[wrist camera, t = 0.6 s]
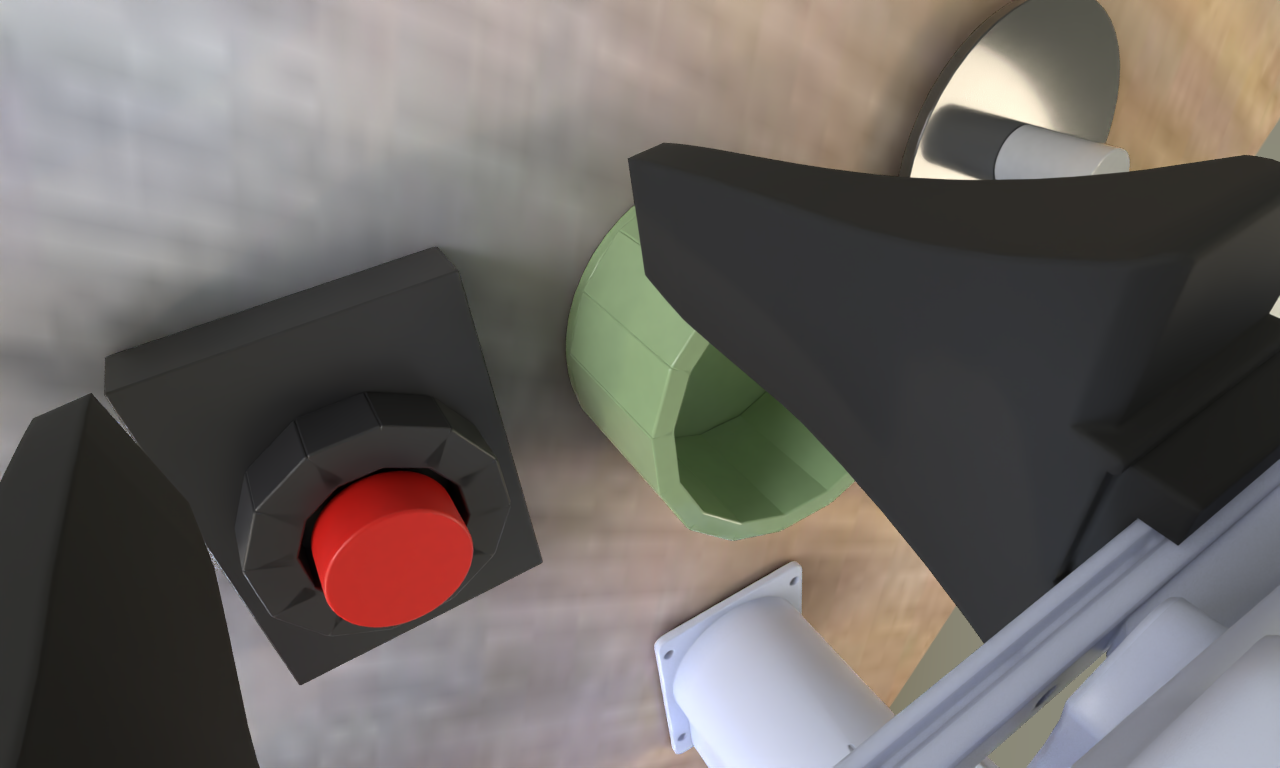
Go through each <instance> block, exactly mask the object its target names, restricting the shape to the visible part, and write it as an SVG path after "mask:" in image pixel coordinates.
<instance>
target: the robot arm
mask: <svg viewBox="0 0 1280 768" xmlns="http://www.w3.org/2000/svg"><path fill="white" fill-rule="evenodd" d="M628 163H629V170H630V176H631V183H632V190H633V197H634V204H635V211H636V217H637V224H638V231H639V238H640V245H641V251H642V258H643V265H644V272H645V276H646V277H647V278H648V279H649V281H650V282H651V283H652V284H653V285H654V287H655V288H656V289H657V290H658V291H659V293H660V294H661V295H662V296H663V297H664V299H665V300H666V301H667V302H668V303H669V304H670V305H671V306H672V308H673V309H674V310H675V311H676V312H677V313H678V314H679V315H680V317H681V318H682V319H683V320H684V321H685V322H686V323H688V324H689V325H690V326H691V327H692V328H693V329H694V330H695V331H697V332H698V333H699V334H700V335H701V336H702V337H703V338H705V339H706V340H707V341H708V342H709V343H710V344H712V345H713V346H714V347H715V348H716V349H717V350H718V351H720V352H721V353H722V354H723V355H724V356H725V357H727V358H728V359H729V360H730V361H731V362H733V363H734V364H735V365H736V366H737V367H738V368H740V369H741V370H742V371H743V372H744V373H746V374H747V375H748V376H749V377H750V378H751V379H753V380H754V381H755V382H756V383H757V384H758V385H760V386H761V387H762V388H763V389H764V390H766V391H767V392H768V393H769V394H770V395H771V396H773V397H774V398H775V399H776V400H777V401H778V402H780V403H781V404H782V405H783V406H784V407H785V408H786V409H787V410H788V411H790V412H791V413H792V414H793V415H794V416H795V417H796V418H797V419H798V420H799V421H800V422H801V423H802V424H803V425H804V426H805V427H806V428H807V429H808V430H809V431H810V432H811V433H812V434H813V435H814V436H815V437H816V439H817V440H818V441H819V442H820V443H821V444H822V445H823V446H824V447H825V448H826V449H827V450H828V451H829V452H830V454H831V455H832V456H833V457H834V458H835V459H836V460H837V461H838V462H839V463H840V464H841V465H842V466H843V468H844V469H845V470H846V471H847V472H848V473H849V474H850V476H851V477H852V478H853V479H854V480H855V481H856V482H857V484H858V485H859V486H860V487H861V488H862V489H863V490H864V491H865V493H866V494H867V495H868V496H869V497H870V498H871V499H872V501H873V502H874V503H875V504H876V505H877V506H878V507H879V509H880V510H881V511H882V512H883V513H884V515H885V516H886V517H887V518H888V519H889V521H890V522H891V523H892V524H893V526H894V527H895V528H896V529H897V530H898V532H899V533H900V534H901V535H902V537H903V538H904V539H905V540H906V541H907V543H908V544H909V545H910V546H911V548H912V549H913V550H914V551H915V553H916V554H917V555H918V556H919V557H920V559H921V560H922V561H923V562H924V564H925V565H926V566H927V567H928V569H929V570H930V571H931V573H932V574H933V575H934V577H935V578H936V579H937V581H938V582H939V583H940V585H941V586H942V587H943V589H944V590H945V591H946V593H947V594H948V595H949V597H950V598H951V599H952V600H953V602H954V603H955V604H956V606H957V607H958V608H959V610H960V611H961V612H962V614H963V615H964V616H965V618H966V619H967V620H968V622H969V623H970V625H971V626H972V627H973V629H974V630H975V631H976V633H977V634H978V636H979V637H980V639H981V640H982V641H983V643H984V644H983V645H982V646H981V647H980V648H978V649H977V650H976V651H975V652H973V653H972V654H971V655H970V656H968V657H967V658H966V659H965V660H964V661H962V662H961V663H960V664H959V665H957V666H956V667H955V668H954V669H953V670H951V671H950V672H949V673H948V674H946V675H945V676H944V677H943V678H941V679H940V680H939V681H938V682H937V683H935V684H934V685H933V686H932V687H930V688H929V689H928V690H927V691H926V692H924V693H923V694H922V695H921V696H919V697H918V698H917V699H916V700H914V701H913V702H912V703H911V704H910V705H908V706H907V707H906V708H905V709H903V710H902V711H901V712H900V713H899V714H897V715H895V714H894V713H893V712H892V711H891V710H890V709H889V708H888V707H887V706H886V705H885V703H884V702H883V701H882V700H881V699H880V698H879V697H878V696H877V695H876V694H875V693H874V692H873V691H872V690H871V689H870V687H869V686H868V685H867V684H866V683H865V682H864V681H863V680H862V679H861V678H860V677H859V676H858V675H857V674H856V673H855V671H854V670H853V669H852V668H851V667H850V666H849V665H848V664H847V663H846V662H845V661H844V660H843V659H842V658H841V657H840V655H839V654H838V653H837V652H836V651H835V650H834V649H833V648H832V647H831V646H830V645H829V644H828V643H827V642H826V641H825V639H824V638H823V637H822V636H821V635H820V634H819V633H818V632H817V631H816V630H815V629H814V628H813V627H812V626H811V624H810V623H809V622H808V621H807V620H806V619H805V618H804V617H803V616H802V615H801V613H802V566H801V565H800V564H799V563H798V562H796V561H792V562H789V563H787V564H786V565H784V566H782V567H780V568H779V569H777V570H775V571H774V572H772V573H770V574H768V575H767V576H765V577H763V578H761V579H760V580H758V581H756V582H754V583H753V584H751V585H749V586H747V587H746V588H744V589H742V590H741V591H739V592H737V593H735V594H734V595H732V596H730V597H728V598H727V599H725V600H723V601H721V602H720V603H718V604H716V605H714V606H713V607H711V608H709V609H708V610H706V611H704V612H702V613H701V614H699V615H697V616H695V617H694V618H692V619H690V620H688V621H687V622H685V623H683V624H681V625H680V626H678V627H676V628H675V629H673V630H671V631H669V632H668V633H666V634H664V635H662V636H661V637H660V638H659V639H658V640H657V641H656V643H655V647H654V648H655V654H656V660H657V665H658V671H659V677H660V682H661V688H662V694H663V699H664V705H665V711H666V716H667V722H668V728H669V733H670V739H671V745H672V748H673V750H674V751H675V753H676V754H682V753H684V752H685V751H687V750H689V749H690V748H692V747H693V746H694V747H695V748H696V750H697V751H698V753H699V754H700V756H701V757H702V758H703V760H704V761H705V763H706V764H707V766H708V767H709V768H999V767H998V766H997V765H996V764H995V763H994V762H993V761H992V760H991V759H989V758H988V757H987V756H988V755H989V754H990V753H991V752H993V751H994V750H995V749H996V748H997V747H998V746H999V745H1001V744H1002V743H1003V742H1004V741H1005V740H1006V739H1007V738H1008V737H1009V736H1011V735H1012V734H1013V733H1014V732H1015V731H1016V730H1017V729H1019V728H1020V727H1021V726H1022V725H1023V724H1024V723H1026V722H1027V721H1028V720H1029V719H1030V718H1031V717H1032V716H1033V715H1035V714H1036V713H1037V712H1038V711H1039V710H1040V709H1041V708H1042V707H1044V706H1045V705H1046V704H1047V703H1048V702H1049V701H1050V700H1052V699H1053V698H1054V697H1055V696H1056V695H1057V694H1058V693H1060V692H1061V691H1062V690H1063V689H1064V688H1065V687H1066V686H1067V685H1069V684H1070V683H1071V682H1072V681H1073V680H1074V679H1075V678H1076V677H1078V676H1079V675H1080V674H1081V673H1082V672H1083V671H1084V670H1085V669H1087V668H1088V667H1089V666H1090V665H1091V664H1092V663H1094V661H1096V660H1097V659H1098V658H1099V657H1100V656H1101V655H1102V654H1104V653H1105V652H1106V651H1107V652H1106V656H1107V658H1106V660H1104V662H1103V663H1102V664H1101V665H1100V666H1099V667H1098V668H1097V669H1096V670H1095V671H1094V672H1093V673H1092V674H1091V675H1090V676H1089V677H1088V679H1086V681H1085V682H1084V683H1083V684H1082V685H1081V686H1080V687H1079V688H1078V689H1077V690H1076V691H1075V692H1074V693H1073V694H1072V695H1071V696H1070V697H1069V699H1068V700H1067V701H1066V703H1065V706H1064V709H1063V712H1062V715H1061V718H1060V720H1059V722H1058V723H1057V725H1056V726H1055V728H1054V729H1053V731H1052V733H1051V734H1050V736H1049V738H1048V739H1047V741H1046V742H1045V744H1044V745H1043V746H1042V748H1041V749H1040V750H1039V752H1038V753H1037V754H1036V756H1035V757H1034V758H1033V760H1032V761H1031V762H1030V763H1029V765H1028V766H1027V767H1026V768H1280V318H1278V317H1275V316H1273V315H1271V314H1269V313H1270V311H1271V310H1272V308H1273V306H1274V305H1275V303H1276V301H1277V299H1278V298H1279V296H1280V162H1278V161H1275V160H1273V159H1268V158H1263V157H1258V156H1250V155H1242V156H1235V157H1229V158H1222V159H1215V160H1208V161H1202V162H1195V163H1188V164H1181V165H1175V166H1168V167H1161V168H1154V169H1148V170H1139V171H1130V172H1119V173H1108V174H1097V175H1087V176H1075V177H1058V178H1042V179H1002V180H953V179H933V178H914V177H897V176H886V175H875V174H867V173H859V172H851V171H843V170H835V169H828V168H821V167H814V166H808V165H802V164H796V163H790V162H784V161H778V160H772V159H767V158H761V157H756V156H750V155H745V154H739V153H734V152H728V151H723V150H717V149H711V148H705V147H698V146H691V145H683V144H672V143H662V144H660V145H658V146H655V147H653V148H651V149H649V150H646V151H644V152H642V153H639V154H637V155H635V156H633V157H630V158H628ZM0 768H260V767H259V765H258V761H257V758H256V754H255V750H254V747H253V743H252V739H251V735H250V732H249V728H248V724H247V719H246V714H245V709H244V705H243V700H242V695H241V690H240V685H239V681H238V676H237V671H236V666H235V662H234V657H233V652H232V647H231V642H230V638H229V633H228V628H227V623H226V619H225V614H224V609H223V605H222V600H221V596H220V591H219V587H218V582H217V578H216V574H215V569H214V566H213V564H212V561H211V558H210V555H209V553H208V550H207V547H206V545H205V542H204V539H203V537H202V534H201V532H200V529H199V527H198V524H197V522H196V519H195V517H194V514H193V512H192V509H191V507H190V504H189V502H188V501H187V500H186V499H185V498H184V496H183V495H182V494H181V493H180V492H179V491H178V490H177V489H176V487H175V486H174V485H173V484H172V483H171V482H170V481H169V480H168V479H167V477H166V476H165V475H164V474H163V473H162V472H161V471H160V470H159V468H158V467H157V466H156V465H155V464H154V463H153V462H152V461H151V459H150V458H149V457H148V456H147V455H146V454H145V453H144V452H143V450H142V449H141V448H140V447H139V446H138V445H137V444H136V443H135V442H134V440H133V439H132V438H131V437H130V436H129V435H128V434H127V433H126V431H125V430H124V429H123V428H122V427H121V426H120V425H119V424H118V422H117V421H116V420H115V419H114V418H113V417H112V416H111V415H110V413H109V412H108V411H107V410H106V409H105V408H104V407H103V406H102V405H101V403H100V402H99V401H98V400H97V399H96V398H95V397H94V396H93V394H92V393H90V394H88V395H86V396H84V397H81V398H79V399H77V400H74V401H72V402H70V403H68V404H65V405H63V406H61V407H58V408H56V409H54V410H52V411H49V412H47V413H45V414H42V415H40V416H38V417H36V418H33V420H32V421H31V423H30V425H29V426H28V428H27V430H26V432H25V434H24V435H23V437H22V439H21V441H20V443H19V445H18V447H17V449H16V451H15V453H14V455H13V457H12V459H11V461H10V463H9V465H8V467H7V469H6V471H5V473H4V476H3V478H2V480H1V482H0Z"/></svg>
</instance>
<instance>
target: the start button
mask: <svg viewBox="0 0 1280 768" xmlns="http://www.w3.org/2000/svg"><path fill="white" fill-rule="evenodd" d="M311 550H312V555H313V558H314V562H315V565H316V568H317V572H318V575H319V579H320V582H321V585H322V589H323V592H324V596H325V599H326V601H327V603H328V605H329V606H330V608H331V609H332V610H333V611H334V612H335V613H336V614H337V615H338V616H340V617H341V618H343V619H344V620H346V621H348V622H350V623H352V624H356V625H359V626H365V627H389V626H395V625H399V624H403V623H406V622H409V621H412V620H415V619H417V618H419V617H421V616H424V615H425V614H427V613H429V612H431V611H432V610H434V609H435V608H437V607H438V606H440V605H441V604H442V603H444V602H445V601H446V600H447V599H448V598H449V597H450V596H451V595H452V594H453V593H454V592H455V591H456V590H457V589H458V588H459V586H460V585H461V583H462V582H463V581H464V579H465V577H466V575H467V573H468V571H469V569H470V566H471V562H472V558H473V541H472V537H471V535H470V532H469V530H468V528H467V527H466V525H465V523H464V521H463V519H462V517H461V516H460V514H459V512H458V510H457V508H456V506H455V505H454V503H453V501H452V499H451V497H450V495H449V494H448V492H447V491H446V490H445V488H444V487H443V486H442V485H441V484H440V483H438V482H437V481H435V480H434V479H432V478H430V477H428V476H426V475H423V474H420V473H416V472H411V471H388V472H382V473H378V474H374V475H371V476H368V477H365V478H363V479H360V480H358V481H356V482H354V483H352V484H351V485H349V486H348V487H346V488H344V489H343V490H342V491H340V492H339V493H338V494H337V495H335V496H334V497H333V498H332V499H331V500H330V501H329V502H328V504H327V505H326V506H325V507H324V508H323V510H322V511H321V513H320V514H319V516H318V518H317V520H316V522H315V525H314V528H313V531H312V535H311Z"/></svg>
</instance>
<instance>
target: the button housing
mask: <svg viewBox="0 0 1280 768" xmlns="http://www.w3.org/2000/svg"><path fill="white" fill-rule="evenodd" d="M104 396H105V397H106V399H107V400H108V402H109V403H110V405H111V406H112V408H113V409H114V411H115V412H116V414H117V415H118V417H119V418H120V420H121V421H122V423H123V424H124V426H125V427H126V428H127V430H128V431H129V433H130V434H131V436H132V437H133V439H134V440H135V442H136V443H137V445H138V446H139V447H140V448H141V449H142V450H143V452H144V453H145V454H146V455H147V456H148V457H149V458H150V459H151V461H152V462H153V463H154V464H155V465H156V466H157V467H158V468H159V470H160V471H161V472H162V473H163V474H164V475H165V476H166V477H167V479H168V480H169V481H170V482H171V483H172V484H173V485H174V486H175V487H176V489H177V490H178V491H179V492H180V493H181V494H182V495H183V496H184V498H185V499H186V500H187V501H188V502H189V504H190V507H191V509H192V512H193V514H194V517H195V519H196V522H197V524H198V527H199V529H200V532H201V534H202V537H203V539H204V542H205V545H206V547H207V549H208V550H209V552H210V553H211V555H212V556H213V558H214V559H215V561H216V562H217V564H218V565H219V567H220V568H221V570H222V571H223V573H224V574H225V576H226V577H227V579H228V580H229V582H230V583H231V585H232V586H233V588H234V589H235V590H236V592H237V593H238V595H239V596H240V598H241V599H242V601H243V602H244V604H245V605H246V607H247V608H248V610H249V611H250V613H251V614H252V616H253V617H254V619H255V620H256V622H257V623H258V625H259V626H260V628H261V629H262V631H263V632H264V634H265V635H266V637H267V638H268V640H269V641H270V642H271V644H272V645H273V647H274V648H275V650H276V651H277V653H278V654H279V656H280V657H281V659H282V660H283V662H284V663H285V665H286V666H287V668H288V669H289V671H290V672H291V674H292V675H293V677H294V678H295V680H296V681H297V683H298V684H299V685H302V684H304V683H306V682H308V681H310V680H312V679H314V678H316V677H318V676H320V675H322V674H324V673H326V672H328V671H330V670H332V669H334V668H336V667H338V666H340V665H342V664H344V663H346V662H348V661H350V660H352V659H354V658H356V657H358V656H360V655H362V654H364V653H366V652H368V651H370V650H372V649H373V648H375V647H377V646H379V645H381V644H383V643H385V642H387V641H389V640H391V639H393V638H395V637H397V636H399V635H401V634H403V633H405V632H407V631H409V630H411V629H413V628H415V627H417V626H419V625H421V624H423V623H425V622H427V621H429V620H431V619H433V618H435V617H437V616H439V615H441V614H443V613H445V612H446V611H448V610H450V609H452V608H454V607H456V606H458V605H460V604H462V603H464V602H466V601H468V600H470V599H472V598H474V597H476V596H478V595H480V594H482V593H484V592H486V591H488V590H490V589H492V588H494V587H496V586H498V585H500V584H502V583H504V582H506V581H508V580H510V579H512V578H514V577H516V576H518V575H519V574H521V573H523V572H525V571H527V570H529V569H531V568H533V567H535V566H537V565H539V564H541V563H542V562H543V561H542V557H541V554H540V550H539V547H538V543H537V540H536V536H535V533H534V529H533V526H532V523H531V519H530V516H529V512H528V509H527V505H526V502H525V498H524V495H523V491H522V488H521V485H520V481H519V478H518V474H517V471H516V467H515V464H514V460H513V457H512V453H511V450H510V446H509V443H508V440H507V436H506V433H505V429H504V426H503V422H502V419H501V415H500V412H499V408H498V405H497V402H496V398H495V395H494V391H493V388H492V384H491V381H490V377H489V374H488V370H487V367H486V364H485V360H484V357H483V353H482V350H481V346H480V343H479V339H478V336H477V332H476V329H475V326H474V322H473V319H472V315H471V312H470V308H469V305H468V301H467V298H466V294H465V291H464V288H463V284H462V281H461V277H460V274H459V271H458V270H457V269H456V268H455V266H454V265H453V264H452V263H451V262H450V261H449V260H448V259H447V257H446V256H445V255H444V254H443V253H442V252H441V251H440V249H439V248H438V247H432V248H429V249H426V250H423V251H420V252H417V253H414V254H411V255H408V256H406V257H403V258H400V259H397V260H394V261H391V262H388V263H385V264H382V265H379V266H376V267H373V268H370V269H367V270H364V271H361V272H358V273H355V274H352V275H349V276H346V277H343V278H340V279H337V280H334V281H331V282H328V283H325V284H322V285H319V286H316V287H313V288H310V289H307V290H304V291H301V292H298V293H295V294H292V295H289V296H286V297H283V298H280V299H277V300H274V301H271V302H268V303H265V304H262V305H259V306H256V307H253V308H250V309H247V310H244V311H242V312H239V313H236V314H233V315H230V316H227V317H224V318H221V319H218V320H215V321H212V322H209V323H206V324H203V325H200V326H197V327H194V328H191V329H188V330H185V331H182V332H179V333H176V334H173V335H170V336H167V337H164V338H161V339H158V340H155V341H152V342H149V343H146V344H143V345H140V346H137V347H134V348H131V349H128V350H125V351H122V352H119V353H116V354H113V355H110V356H107V357H106V358H105V381H104ZM388 471H411V472H416V473H420V474H423V475H426V476H428V477H430V478H432V479H434V480H435V481H437V482H438V483H440V484H441V485H442V486H443V487H444V488H445V490H446V491H447V492H448V494H449V495H450V497H451V499H452V501H453V503H454V505H455V506H456V508H457V510H458V512H459V514H460V516H461V517H462V519H463V521H464V523H465V525H466V527H467V528H468V530H469V532H470V535H471V537H472V541H473V558H472V562H471V566H470V569H469V571H468V573H467V575H466V577H465V579H464V581H463V582H462V583H461V585H460V586H459V588H458V589H457V590H456V591H455V592H454V593H453V594H452V595H451V596H450V597H449V598H448V599H447V600H446V601H445V602H444V603H442V604H441V605H440V606H438V607H437V608H435V609H434V610H432V611H431V612H429V613H427V614H425V615H424V616H421V617H419V618H417V619H415V620H412V621H409V622H406V623H403V624H399V625H395V626H389V627H365V626H359V625H356V624H352V623H350V622H348V621H346V620H344V619H343V618H341V617H340V616H338V615H337V614H336V613H335V612H334V611H333V610H332V609H331V608H330V606H329V605H328V603H327V601H326V599H325V596H324V592H323V589H322V585H321V582H320V579H319V575H318V572H317V568H316V565H315V562H314V558H313V555H312V550H311V535H312V531H313V528H314V525H315V522H316V520H317V518H318V516H319V514H320V513H321V511H322V510H323V508H324V507H325V506H326V505H327V504H328V502H329V501H330V500H331V499H332V498H333V497H334V496H335V495H337V494H338V493H339V492H340V491H342V490H343V489H344V488H346V487H348V486H349V485H351V484H352V483H354V482H356V481H358V480H360V479H363V478H365V477H368V476H371V475H374V474H378V473H382V472H388Z"/></svg>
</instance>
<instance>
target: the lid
mask: <svg viewBox="0 0 1280 768" xmlns="http://www.w3.org/2000/svg"><path fill="white" fill-rule="evenodd" d="M1119 81H1120V56H1119V46H1118V41H1117V36H1116V32H1115V29H1114V26H1113V24H1112V21H1111V19H1110V17H1109V16H1108V14H1107V12H1106V11H1105V9H1104V8H1103V7H1102V6H1101V5H1100V4H1099V3H1098V2H1097V1H1096V0H1014V1H1012V2H1010V3H1009V4H1007V5H1005V6H1003V7H1002V8H1001V9H999V10H998V11H997V12H995V13H994V14H993V15H991V16H990V17H989V18H988V19H986V20H985V21H984V22H983V23H982V24H981V25H980V26H979V27H978V28H977V29H976V30H975V31H974V32H973V33H972V34H971V35H970V36H969V37H968V38H967V39H966V41H965V42H964V43H963V44H962V45H961V46H960V47H959V49H958V50H957V51H956V52H955V54H954V55H953V56H952V58H951V59H950V61H949V62H948V63H947V65H946V66H945V67H944V69H943V70H942V72H941V73H940V75H939V77H938V78H937V80H936V82H935V83H934V85H933V87H932V88H931V90H930V92H929V94H928V96H927V98H926V100H925V102H924V104H923V106H922V108H921V110H920V112H919V114H918V116H917V119H916V121H915V124H914V126H913V128H912V131H911V133H910V136H909V139H908V142H907V146H906V149H905V152H904V155H903V159H902V163H901V167H900V172H899V176H898V177H914V178H933V179H953V180H1002V179H1042V178H1058V177H1075V176H1087V175H1097V174H1108V173H1119V172H1129V168H1130V158H1129V154H1128V153H1127V151H1126V150H1124V149H1123V148H1120V147H1116V146H1112V145H1108V144H1105V143H1106V140H1107V137H1108V134H1109V131H1110V127H1111V124H1112V120H1113V117H1114V112H1115V107H1116V103H1117V97H1118V89H1119Z"/></svg>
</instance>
